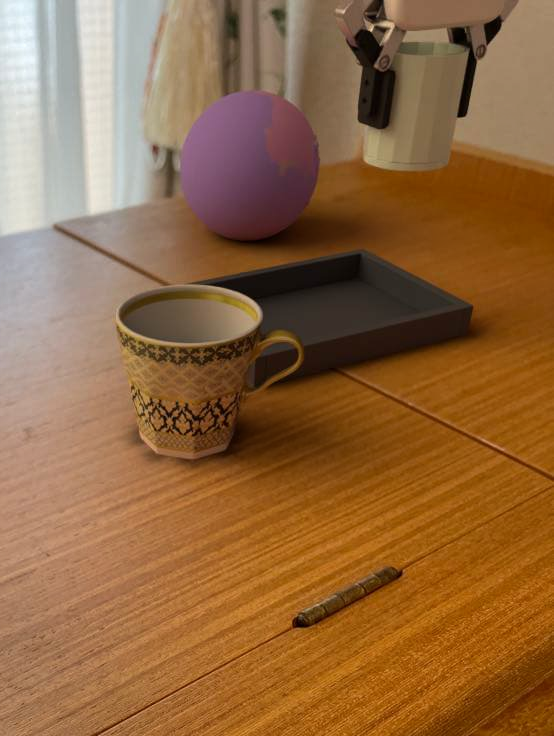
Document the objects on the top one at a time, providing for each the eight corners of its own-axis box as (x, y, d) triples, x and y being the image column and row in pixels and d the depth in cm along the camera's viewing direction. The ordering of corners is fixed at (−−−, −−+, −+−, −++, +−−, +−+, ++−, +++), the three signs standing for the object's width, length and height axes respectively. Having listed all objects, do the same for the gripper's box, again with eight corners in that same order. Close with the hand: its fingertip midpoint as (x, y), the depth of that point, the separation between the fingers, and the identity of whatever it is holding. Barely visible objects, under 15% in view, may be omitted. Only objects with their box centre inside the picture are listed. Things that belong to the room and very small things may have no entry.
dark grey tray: (358, 278, 89) (362, 248, 87) (466, 338, 77) (474, 305, 76) (166, 319, 82) (165, 287, 80) (253, 392, 70) (255, 357, 68)
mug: (466, 164, 69) (489, 50, 64) (397, 176, 67) (415, 59, 62) (391, 137, 76) (406, 33, 71) (326, 147, 74) (337, 40, 69)
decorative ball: (320, 260, 93) (337, 107, 84) (179, 261, 93) (180, 108, 84) (304, 215, 105) (317, 76, 95) (179, 216, 105) (180, 78, 96)
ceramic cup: (101, 464, 62) (94, 334, 56) (143, 398, 70) (141, 277, 63) (281, 493, 59) (294, 359, 53) (305, 421, 67) (318, 296, 60)
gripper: (384, -173, 52) (347, 144, 63) (598, -175, 58) (530, 117, 69) (315, -169, 58) (292, 122, 69) (517, -171, 63) (466, 99, 74)
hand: (412, 117), depth 69 cm, fingers closed on mug, 6 cm apart
